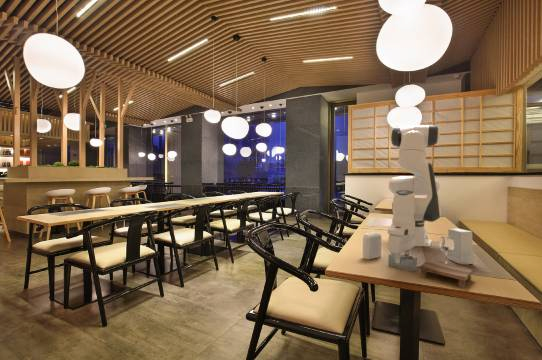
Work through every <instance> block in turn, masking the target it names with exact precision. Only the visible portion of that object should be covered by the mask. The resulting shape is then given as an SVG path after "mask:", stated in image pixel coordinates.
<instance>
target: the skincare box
mask: <svg viewBox="0 0 542 360" xmlns="http://www.w3.org/2000/svg"><path fill="white" fill-rule="evenodd" d="M447 234H448V235H447V237H450V238H453V240H454V245H455V248H454V250H453V251H452V252H449V253H448V260H450V261H453V262H455V263H457V264H459V265H469V264H474V256H473V254H474V250H473V249H474V248H473V246H474V245H473V231H471V230H468V229H467V230H466V229H463V228H448V231H447Z"/></svg>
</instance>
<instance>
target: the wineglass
mask: <svg viewBox="0 0 542 360" xmlns="http://www.w3.org/2000/svg"><path fill="white" fill-rule="evenodd" d="M438 248H439V249H440V250H441V252H444V255H445V262H444V263H446V264H450V263H448V257H449V252H452V251H453V250H454V248H455V245H454V240H453V238H450V237H448V236H440V239H439V242H438ZM450 265H452V264H450Z"/></svg>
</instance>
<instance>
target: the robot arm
mask: <svg viewBox="0 0 542 360" xmlns="http://www.w3.org/2000/svg"><path fill="white" fill-rule="evenodd" d="M389 137H390V143H391V144H392V146H394V147H396V148H397V147H398V148H399V150H398V164H399V166H400V167H401V168H402V169H403V170H404V171H406V172H408V173H410V174H413V175H398V176H394V177H391V178H390V179H389V181H388V189H389V191H390V193H392V194H393V195H394V196H393V200H392V203H391V204H392V205H391V212H392V214H393V215H392V219H391V225H390V226H389V227H388V229H387V235H388V238H387V239H388V251H389V254H391V253H392V254H394V256H395V262H396V263H401V259H400V254H402V253H404V254H403V255H406V256H410V254H411V251H412V248H414V247H427V248H428V247H431V244H432V242H433V240H432V239H430V238H428V237H429V236H428V233H429V232H428V231H427V229H426V227H425V222H430V223H433V222H435V221H438V220H439V219H440V218H441V216H442V205H441V203H440V199H439V196H438V192H439V190H440V182H439V180H438V179H437V178H436V176H435V171H434V166H433V164H432V163H429V162H428V161H427V158H426V157H427V156H426V155H427V147H433V146H436V144H438V142H439V140H440V138H441V131H440V129H439V127H438V126H437V125H433V124H414V125H405V126H401V125H400V126H396V127H394V128H393V129H392V131H391V132H390V136H389ZM416 196H426V197H416Z"/></svg>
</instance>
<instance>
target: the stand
mask: <svg viewBox="0 0 542 360" xmlns="http://www.w3.org/2000/svg"><path fill="white" fill-rule="evenodd" d="M418 270H419V271H420V272H419V275H420V277H421V278H426V277H427V272H428V273H432V274H437V275H440V276H445V277H449V278H452V279H456V280H458V288H461V289H465V287H466V281H469V282H471V280H472V274H473V273H474V272H473V271H474V270H473V269H472V268H468V267H464V266H463V267H462V266H460V265H459V266H458V265H454V264H451V265H450V263H448V264H446V263H445V262H441V261H440V262H439V261H435V260H432V259H428V260H426V261H425V262H423V263H421V264H420V265H419V266H418Z"/></svg>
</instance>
